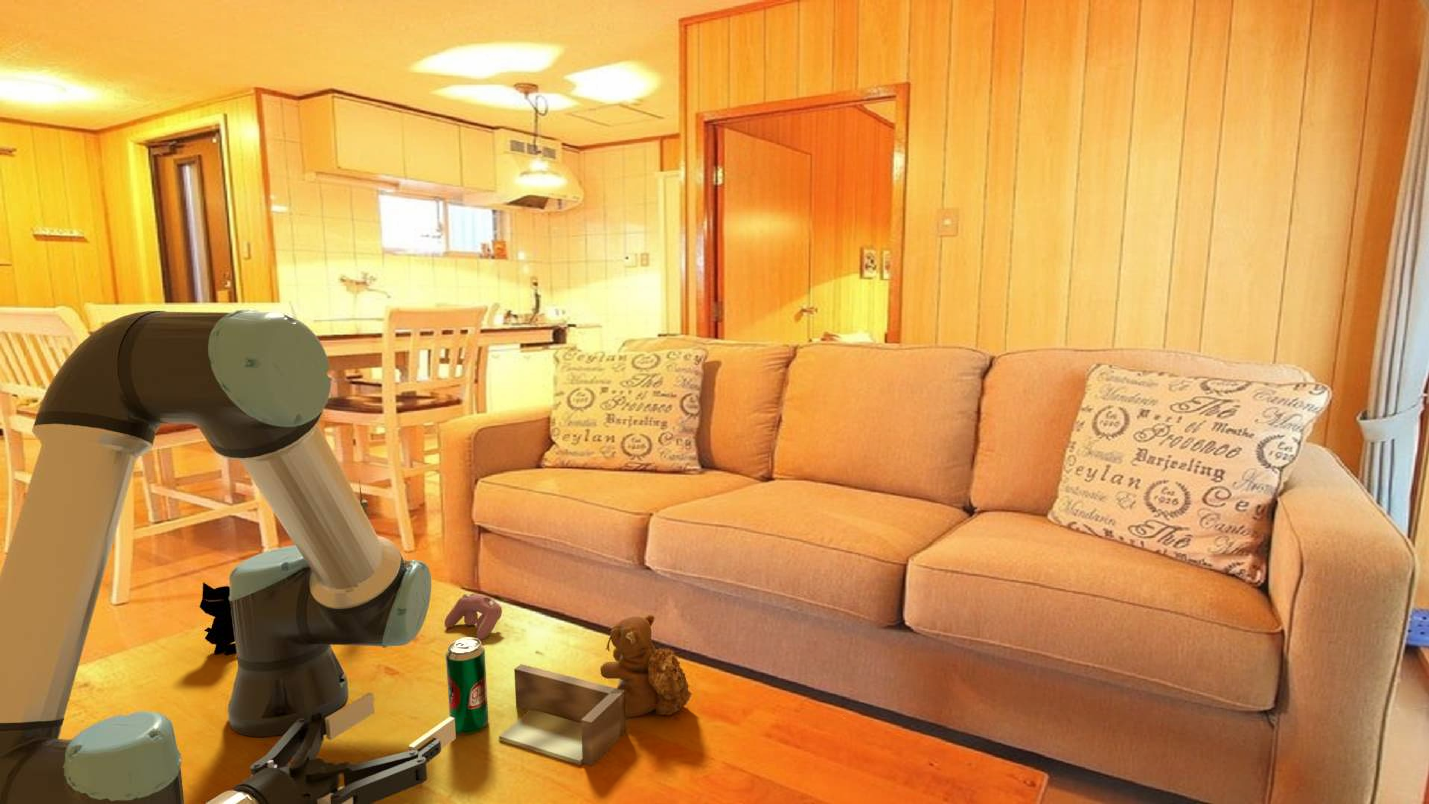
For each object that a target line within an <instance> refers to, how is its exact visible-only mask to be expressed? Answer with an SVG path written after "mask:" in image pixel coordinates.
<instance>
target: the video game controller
mask: <svg viewBox="0 0 1429 804" xmlns="http://www.w3.org/2000/svg"><path fill="white" fill-rule="evenodd" d="M502 609H503V608H502V606H501V605H500V604H499V603H498V602H496V601H495V600H494V599H493V598H491V596H488V595H486V594H482V593H468V594H463V595H462V596H461V597H460V598H458V599H457V601H456V603H455V604H454V606H453V607H452V609H451V610H450V611H449V612H448V614H447V615H446V617H445V620H444V627H445V628H446V629H450V628H452V627H455V625H457V624H458V623H459V622H460V621H461V620H462V619H463V622H464V624H465V625H466V626H471V627H473V626H475V625H476V628H477V631H476V639H479V640H480V641H481V640H484V639H486V638H487V637H488V636H489V635H490V634H491V632H492V631H493V630H494V628H495V626H496V625H497V623H498V621H499V620H500V619H501V617H502V613H503V610H502ZM478 613H480V614H481V615H480V616H479V615H478Z"/></svg>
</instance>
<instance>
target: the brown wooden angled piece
mask: <svg viewBox="0 0 1429 804" xmlns="http://www.w3.org/2000/svg"><path fill="white" fill-rule="evenodd" d="M513 670H514V671H513V672H514V689H515V690H514V692H515V708H517V707H518V709H520V708H522V709H521V710H524V709H525V710H524V711H527V710H528V712H526V713H525V714H524V715H523V716H521V718H519V719H518V720H516V721H515V722H514V723H513V724H511V726H509V727H508V728H507V729H506V730H504V731H503V732H502V733H501V734H500V735H498V740H499V741H501V740H502V741H501V742H505V743H507V744H510V743H511V744H510V745H514V746H517V747H520V746H521V747H520V748H523V749H526V748H528V749H527V750H530V751H533V752H536V751H538V752H537V753H539V752H540V754H543V755H545V756H549V757H552V758H556V759H559V760H561V761H562V760H563V761H565V762H568V763H571V764H576V765H578V766H581V765H582V764H586V765H589V766H591V767H593V766H594V765H595V764H596V763H597V762H598V761H599V760H600V759H601V758H602V756H603V755H605V753H607V751H608V750H610V748H612V746H613V745H614V744H615V743H616V742H617V741H618V740H619V739H620V738H621V737H622V736H623V735H624V734H625V733H626V732H627V729H626V726H627V725H626V722H627V721H626V719H627V718H625V691H624V690H621V689H617V687H612V686H608V685H605V684H600V683H596V682H592V681H589V680H585V679H582V678H576V677H574V676H570V675H566V674H561V673H558V672H555V671H549V670H546V669H542V668H538V667H534V666H530V665H527V664H524V663H523V664H522V663H520V664H519V665H517V666H516V667H515V668H514V669H513Z"/></svg>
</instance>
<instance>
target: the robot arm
mask: <svg viewBox="0 0 1429 804" xmlns="http://www.w3.org/2000/svg"><path fill="white" fill-rule="evenodd" d="M330 369H331V368H330V362H329V358H328V356H327V353H326V350H325V348H324V346H323V344H322V342H321V341H320V339H319V337H317V335H316V334H315V332H313V330H311V329H310V328H309V326H307V325H306V324H305V323H304V322H302V321H300V320H298V319H297V318H295V317H294V316H291V315H287V314H285V313H284V314H283V313H280V312H279V313H278V312H266V311H260V310H256V309H241V310H238V309H237V310H233V311H230V312H224V311H223V312H219V311H217V312H216V311H215V312H211V311H210V312H209V311H203V312H202V311H166V310H147V311H140V312H139V311H137V312H134V313H130V314H126V315H123V316H121V317H118V318H116V319H113V320H112V321H110V322H108V323H106V324H104V325H103V326H101V327H99V328H98V329H96V330H95V331H94V332H92V333H91V334H90V335H89V336H88V337H87V338H86V339H84V340H83V341H82V342H80V343H79V345H78V346H77V347H76V348H75V349H74V350H73V352H72V353H71V354H70V355H69V356H68V357H67V358H66V359H65V361H64V362H63V364H62V365H61V367H60V368H59V370H58V371H57V372H56V374H55V375H54V377H53V379H52V380H51V382H50V384H49V385H48V387H47V389H46V392H45V393H44V396H43V398H42V400H41V403H40V405H39V408H38V411H37V413H36V416H35V420H34V423H33V427H32V430H31V432H32V434H33V435H34V436H35V437H36V438H37V440H38V441H39V442H40V445H41V446H40V449H39V453H38V456H37V459H36V462H35V465H34V468H33V470H32V473H31V478H30V480H29V484H28V487H27V491H26V493H25V496H24V499H23V503H22V506H21V508H20V512H19V515H18V518H17V521H16V525H15V528H14V531H13V533H12V538H11V539H10V540H11V541H10V543H9V546H8V549H7V553H6V556H5V558H4V563H3V564H2V565H3V566H2V568H1V572H0V804H185V798H184V788H183V778H182V768H181V766H182V764H183V763H182V757H181V752H180V750H179V748H178V745H177V744H178V743H177V740H176V736H175V730H174V726H173V723H172V721H171V720H170V719H169V717H167V716H166V715H165V714H162V713H160V712H155V711H146V710H144V711H135V712H133V713H130V714H126V715H125V714H117V715H113V716H111V717H108V718H105V719H103V720H100V721H98V722H95V723H94V724H92V725H90V726H88V727H86V728H84V729H83V730H81V731H80V732H79V733H77V734H76V735H75V736H73V738H71V739H67V738H60V735H61V732H62V728H63V727H62V726H63V724H64V720H65V714H66V710H67V707H68V705H69V704H68V703H69V700H70V697H71V693H72V689H73V687H74V682H75V679H76V675H77V671H78V669H79V666H80V662H81V658H82V654H83V651H84V646H85V645H86V644H85V643H86V639H87V635H88V633H89V629H90V626H91V623H92V619H93V614H94V612H95V608H96V604H97V600H98V597H99V593H100V590H101V587H102V583H103V579H104V576H105V572H106V568H107V565H108V561H109V559H110V558H109V557H110V554H111V551H112V546H113V544H114V539H115V535H116V534H117V530H118V529H117V528H118V526H119V522H120V519H121V515H122V512H123V509H124V504H125V500H126V497H127V494H128V490H129V486H130V483H131V480H132V476H133V472H134V469H135V465H136V462H137V459H138V458H140V456H143V455H145V454H147V453H148V452H150V451H152V449H153V444H154V441H155V438H156V434H157V432H158V430H159V429H160V428H161V427H162V426H163V425H165V424H170V425H171V424H173V425H174V424H175V425H194V426H195V427H197V428H198V429H199V431H200V432H201V433H202V435H203V437H204V438H205V439H206V441H207V443H208V444H209V445H210V447H211V449H213V451H214V452H215V453H216V454H217V455H219V456H220V457H223V458H225V459H228V460H234V461H240V463H241V464H242V466H243V468H244V469H245V471H246V472H247V473H248V475H249V477H250V478H251V480H252V481H253V483H254V485H255V486H256V487H257V489H258V490H259V492H260V493H261V494H262V496H263V498H264V500H265V501H266V503H267V504H268V506H269V507H270V509H271V510H272V512H273V513H274V515H275V516H276V518H277V519H278V521H279V523H280V524H281V526H282V527H283V528H284V530H285V532H286V534H287V535H288V536H289V538H290V539H291V541H292V543H294V544H293V545H292V544H291V545H287V546H286V545H285V546H282V547H277V548H275V549H271V550H267V551H265V552H261V553H259V554H257V555H253V556H251V557H249V558H247V559H245V560H243V561H242V562H240V563H238V564H237V565H236V566H235V567H234V568H233V569H232V570H231V572H230V574H229V579H228V580H229V581H228V582H229V587H230V596H229V601H230V605H231V613H232V620H233V628H234V636H235V642H234V643H235V644H236V651H237V653H236V658H237V671H236V675H235V679H234V682H233V687H232V691H231V697H230V700H229V702H228V704H227V714H228V723H229V726H230V728H231V729H232V730H233V731H235V733H238V734H241V735H243V736H248V737H256V738H257V737H261V738H262V737H263V738H264V737H274V736H280V735H282V737H281V738H280V739H279V740H278V741H277V742H276V743H275V745H273V747H271V748H270V750H269V751H268V752H267V753H266V754H265V755H264V756H263V757H261V758H259V759H257V761H255V762H254V763H252V764H251V765H250V776H249V777H248V778H246V779H244V780H243V781H241V782H239V783H238V784H236V785H235V786H233V788H232V790H227V791H224V792H222V793H221V794H219V795H217V796H216V797H214V798H212V799H211V800H209V801H207V802H206V803H205V804H374V803H377V802H378V801H382V800H385V799H386V798H388V797H389V798H390V797H392V796H394V795H396V794H399V793H401V792H403V791H407V790H408V789H411V788H413V787H416V786H418V785H422V784H424V783H426V782H427V780H428V774H427V771H428V770H427V763H428V762H430V761H431V760H433V759H434V758H435V757H437V756H438V755H439V754H440V753H441V752H442V749H444V748H445V747H447V746H448V745H449V744H451V743H452V742H454V741H455V740H456V739H457V736H456V735H457V734H456V732H455V718H453V717H450V716H449V717H447V718H446V719H444V720H443V721H441V722H439V724H437V725H436V726H435V727H433V728H431V729H430V730H429V731H427V732H426V733H424V734H423V735H422V736H421V737H419V738H417V739H416V740H415V741H413V742H412V743H410V744H409V745H408V751H404V752H400V753H399V752H398V753H395V754H392V755H391V754H390V755H387V756H383V757H377V758H375V759H371V760H365V761H363V762H358V763H355V764H353V763H351V762H349V761H345V762H340V763H333V762H326V761H325V760H324V759H322V758H320V757H318V755H319V752H320V750H321V748H322V744H323V742H324V740H325V737H326V740H328V741H333V740H334V739H335V738H337V737H339V736H340V735H342V734H344V733H345V732H347V731H348V730H349V729H352V728H353V727H355V726H356V725H358V724H359V723H361V722H362V721H364V720H366V719H367V718H369V717H371V716H372V715H374V714H375V703H374V702H375V700H374V693H372V692H367V693H366V694H364V695H362V696H361V697H358V698H357V699H355V700H354V701H352V702H351V703H348V704H346V705H345V703H346V701H347V700H348V697H349V686H348V685H349V684H348V677H347V676H346V675H347V674H346V673H345V671H344V669H343V668H342V665H341V663H340V661H339V660H338V657H337V655H336V654H335V651H334V650H333V648H332V646H333V645H334V646H368V647H370V646H371V647H382V648H385V649H386V648H388V647H403V646H406V645H408V644H410V643H411V642H412V641H414V640H415V639H416V638H417V636H418V635H419V633H420V631H421V629H422V627H423V625H424V622H425V620H426V618H427V615H428V614H427V613H428V610H429V606H430V602H431V601H430V600H431V594H432V576H431V575H432V574H431V571H430V567H429V566H428V564H427V563H426V562H424V561H420V560H417V559H412V560H405V559H404V558H403V556H402V553H401V552H400V550H399V547H398V546H397V545H396V544H395V543H394V542H393V541H391V540H390V539H388V538H387V537H383V536H379V535H377V533H376V531H375V529H374V527H373V525H372V523H371V521H370V520H369V517H368V514H367V515H366V514H365V512H364V510H363V508H362V506H361V504H360V502H359V501H360V499H359V498H358V497H357V495H356V492H355V491H354V490H353V486H351V483H350V481H349V479H348V478H347V476H346V474H345V472H344V470H343V469H342V467H341V465H340V463H339V461H338V459H337V457H336V455H335V453H334V452H333V450H332V448H331V446H330V444H329V442H328V440H327V438H326V437H325V435H324V433H323V431H322V428H321V427H320V425H319V423H320V422H321V420H322V418H323V415H324V413H325V412H324V411H325V407H326V405H327V403H328V400H329V397H330V394H331V388H332V386H331V385H332V378H331V377H330V376H329V375H328V371H329V370H330ZM343 705H344V706H343ZM289 763H290V764H289ZM340 775H343V786H339V785H340V781H341V779H340Z"/></svg>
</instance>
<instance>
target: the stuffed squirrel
mask: <svg viewBox="0 0 1429 804" xmlns="http://www.w3.org/2000/svg"><path fill="white" fill-rule="evenodd" d="M655 619H656V618H655V615H653V614H648V615H645V616H644V617H641V616H630V617H626V618H624V619H622V620H620V621H618V622H617V623H615V624H614V625H613V626H612V627H611V631H610V636H609V637H608V640H607V641H608V642H607V645H606V648H605V651H608V652H611V650H610V643H612V646H614V650H613V651H612V652H613V653H612V656H613V658H614V660H615V661H606V662H604V663H603V664H602V665H601V666H600V668H599V670H600V675H601V676H602V677H603V678H604V679H607V680H608V679H609V680H611V679H612V680H615V679H617V680H618V679H619V681H618V684H617V687H616V688H617V689H621V690H624V691H625V718H626V719H628V718H636V717H639V716H643V715H646V714H648V713H650V712H652V711H655V714H656V715H659V716H671V715H672V714H674V713H676V712H678V711H680V709H683V707H684V706H686V705H687V703H688V701H690V698H691V696H692V695H693V693H692V692H691V691H690V690H689V687H690V685H689V684H688V681H687V677H686V673H685V672H684V669H683V668H682V667H681V665H680V664H681V663H680V661H679V660H678V658H677V656H676V654H675V651H674V650H672V649H670V648H660V647H659V648H658V649H656V648H655V646H654V645H653V640H652V628H651V627H652V626H653V623H654V621H655Z"/></svg>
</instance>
